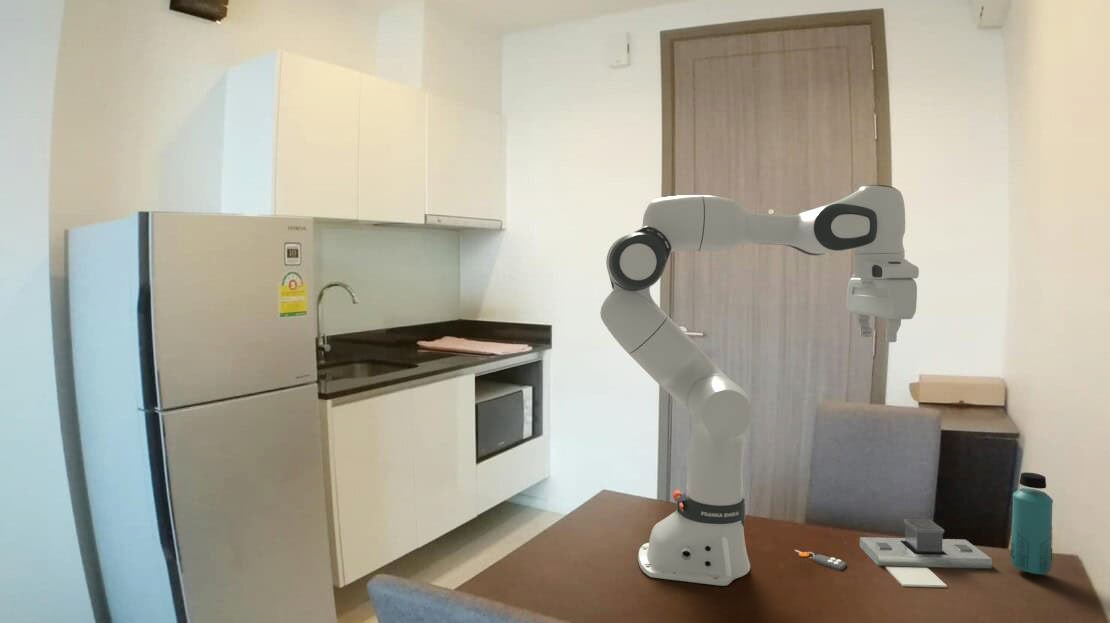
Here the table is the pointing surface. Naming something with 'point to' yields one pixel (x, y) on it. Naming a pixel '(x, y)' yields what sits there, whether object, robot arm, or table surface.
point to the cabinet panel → (898, 554)
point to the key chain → (825, 560)
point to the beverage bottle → (1032, 526)
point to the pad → (915, 577)
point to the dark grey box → (923, 536)
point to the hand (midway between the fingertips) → (877, 339)
